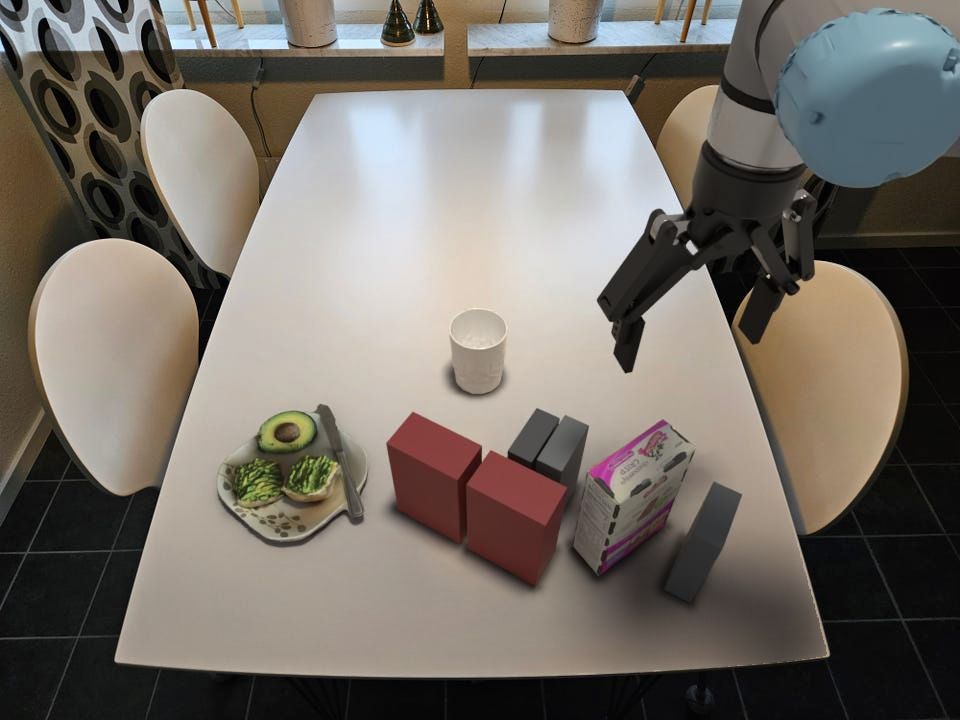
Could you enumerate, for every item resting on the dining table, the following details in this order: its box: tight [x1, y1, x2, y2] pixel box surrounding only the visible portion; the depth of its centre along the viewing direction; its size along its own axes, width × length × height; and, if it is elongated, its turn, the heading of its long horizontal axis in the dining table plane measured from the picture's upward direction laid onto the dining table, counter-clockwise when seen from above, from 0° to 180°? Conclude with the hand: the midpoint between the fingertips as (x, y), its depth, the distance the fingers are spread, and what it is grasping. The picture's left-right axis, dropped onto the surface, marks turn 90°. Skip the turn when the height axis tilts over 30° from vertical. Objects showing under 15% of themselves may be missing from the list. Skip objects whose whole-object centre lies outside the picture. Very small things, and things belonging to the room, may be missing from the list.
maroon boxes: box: [385, 411, 567, 587], centre depth 72 cm, size 5×19×14 cm, turn 59°
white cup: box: [448, 307, 509, 395], centre depth 90 cm, size 8×8×10 cm
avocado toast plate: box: [216, 403, 369, 543], centre depth 80 cm, size 19×18×5 cm
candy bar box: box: [572, 418, 697, 577], centre depth 71 cm, size 11×5×16 cm, turn 126°
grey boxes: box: [506, 407, 743, 604], centre depth 73 cm, size 7×24×13 cm, turn 59°
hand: (686, 348), depth 63 cm, fingers open, 13 cm apart
